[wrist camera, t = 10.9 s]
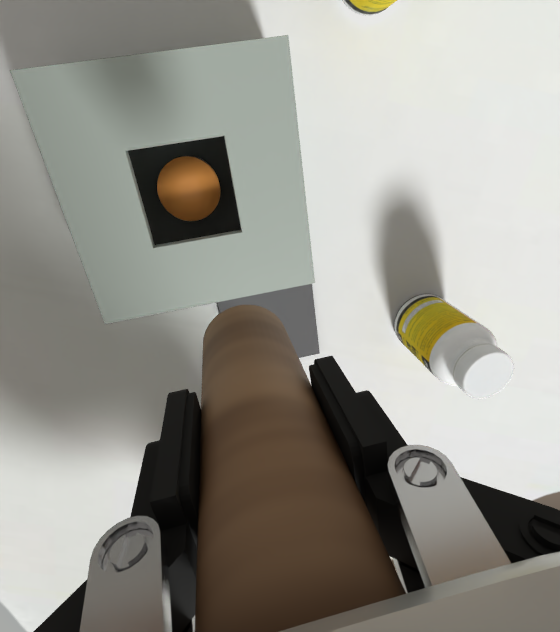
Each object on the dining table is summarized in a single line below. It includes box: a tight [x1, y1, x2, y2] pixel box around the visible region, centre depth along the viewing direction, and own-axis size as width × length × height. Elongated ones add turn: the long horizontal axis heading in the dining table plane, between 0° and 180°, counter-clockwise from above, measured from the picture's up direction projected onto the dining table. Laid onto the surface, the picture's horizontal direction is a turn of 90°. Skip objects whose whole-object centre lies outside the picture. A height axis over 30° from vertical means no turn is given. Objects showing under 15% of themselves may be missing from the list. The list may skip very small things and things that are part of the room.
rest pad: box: [217, 284, 319, 358], centre depth 33 cm, size 8×8×1 cm
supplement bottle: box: [394, 294, 514, 399], centre depth 31 cm, size 5×5×10 cm
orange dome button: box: [157, 156, 220, 221], centre depth 26 cm, size 4×4×3 cm
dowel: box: [195, 305, 406, 632], centre depth 10 cm, size 4×4×13 cm
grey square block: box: [10, 35, 315, 324], centre depth 25 cm, size 14×14×6 cm
